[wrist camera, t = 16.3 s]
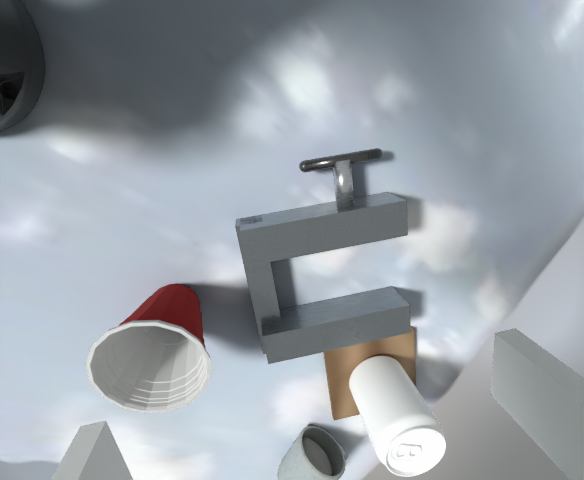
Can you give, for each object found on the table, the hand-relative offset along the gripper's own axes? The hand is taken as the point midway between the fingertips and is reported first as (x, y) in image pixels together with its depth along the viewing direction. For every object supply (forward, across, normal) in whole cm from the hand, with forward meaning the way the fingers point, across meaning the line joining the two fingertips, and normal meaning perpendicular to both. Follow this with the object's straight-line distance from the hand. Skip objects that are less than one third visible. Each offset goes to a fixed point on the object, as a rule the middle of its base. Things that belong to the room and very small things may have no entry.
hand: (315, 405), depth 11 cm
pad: (+29, +11, -27) cm, 41 cm away
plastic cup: (+29, -13, -10) cm, 33 cm away
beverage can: (+28, +11, -27) cm, 40 cm away
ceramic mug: (+29, +1, -39) cm, 49 cm away
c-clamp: (+29, +6, -6) cm, 30 cm away
